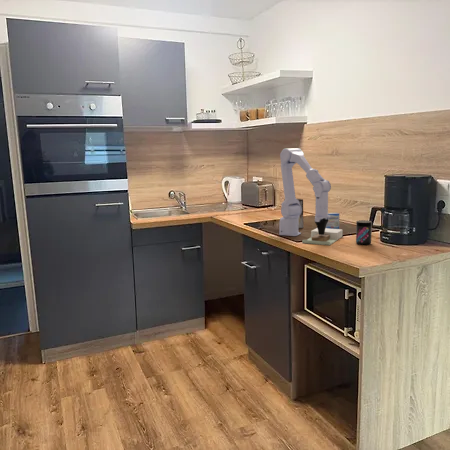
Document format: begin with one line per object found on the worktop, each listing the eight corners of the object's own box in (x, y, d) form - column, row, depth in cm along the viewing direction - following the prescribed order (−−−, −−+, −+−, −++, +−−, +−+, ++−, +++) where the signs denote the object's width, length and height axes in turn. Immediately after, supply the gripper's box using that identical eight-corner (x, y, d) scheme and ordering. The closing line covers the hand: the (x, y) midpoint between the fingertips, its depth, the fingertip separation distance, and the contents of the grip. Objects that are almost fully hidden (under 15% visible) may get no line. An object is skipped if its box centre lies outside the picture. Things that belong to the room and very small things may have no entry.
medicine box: (325, 229, 226) (326, 214, 225) (322, 228, 231) (322, 213, 229) (339, 229, 228) (339, 213, 226) (335, 227, 232) (336, 212, 231)
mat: (302, 243, 196) (302, 239, 196) (310, 238, 207) (310, 235, 206) (329, 245, 190) (329, 242, 189) (337, 240, 200) (337, 237, 200)
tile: (311, 241, 197) (311, 237, 197) (317, 237, 205) (317, 233, 204) (324, 242, 194) (324, 238, 194) (329, 238, 202) (329, 234, 201)
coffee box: (298, 226, 240) (298, 198, 237) (303, 227, 234) (303, 199, 231) (283, 227, 238) (283, 199, 235) (288, 229, 232) (288, 200, 229)
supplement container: (352, 243, 193) (353, 220, 191) (365, 241, 195) (366, 219, 193) (361, 246, 187) (362, 223, 185) (374, 244, 189) (375, 222, 187)
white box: (311, 238, 207) (311, 231, 206) (317, 234, 215) (317, 227, 214) (337, 240, 200) (337, 232, 200) (342, 236, 208) (342, 229, 208)
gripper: (325, 208, 189) (325, 238, 191) (334, 204, 201) (334, 232, 204) (310, 208, 193) (310, 236, 195) (320, 204, 205) (319, 231, 207)
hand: (321, 234), depth 200 cm, fingers closed
